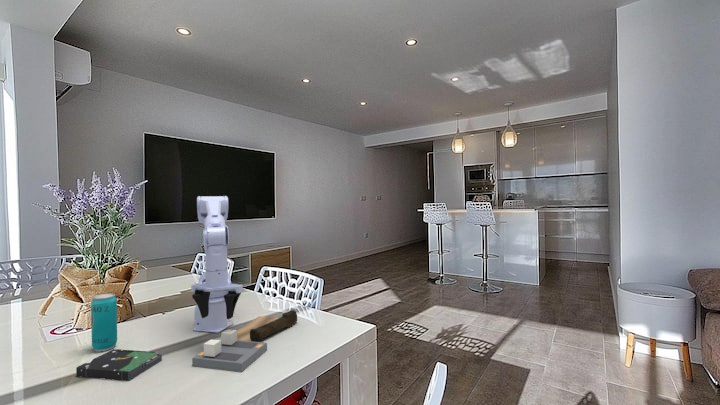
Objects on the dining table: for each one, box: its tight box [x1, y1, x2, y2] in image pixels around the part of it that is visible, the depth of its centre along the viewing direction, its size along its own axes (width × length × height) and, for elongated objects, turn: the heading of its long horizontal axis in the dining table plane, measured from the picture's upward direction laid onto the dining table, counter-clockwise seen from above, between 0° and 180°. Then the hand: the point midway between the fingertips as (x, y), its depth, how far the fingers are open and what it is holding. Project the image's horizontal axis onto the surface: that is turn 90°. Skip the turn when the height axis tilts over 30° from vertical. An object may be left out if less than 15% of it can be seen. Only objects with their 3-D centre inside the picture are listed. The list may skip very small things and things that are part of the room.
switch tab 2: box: [220, 328, 238, 345], centre depth 92 cm, size 3×3×3 cm
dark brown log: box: [250, 309, 298, 342], centre depth 105 cm, size 19×4×5 cm, turn 147°
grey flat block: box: [191, 340, 268, 373], centre depth 88 cm, size 14×12×2 cm
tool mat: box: [236, 315, 280, 341], centre depth 107 cm, size 9×23×1 cm, turn 167°
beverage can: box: [90, 292, 118, 353], centre depth 95 cm, size 6×6×15 cm
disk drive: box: [75, 348, 163, 382], centre depth 83 cm, size 10×3×15 cm
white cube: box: [203, 339, 221, 357], centre depth 85 cm, size 3×3×3 cm
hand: (217, 317), depth 94 cm, fingers open, 7 cm apart
